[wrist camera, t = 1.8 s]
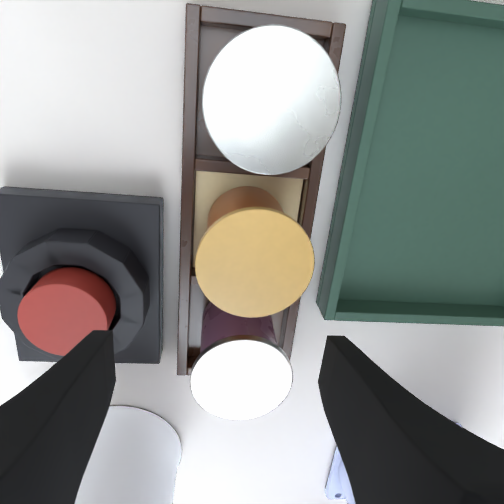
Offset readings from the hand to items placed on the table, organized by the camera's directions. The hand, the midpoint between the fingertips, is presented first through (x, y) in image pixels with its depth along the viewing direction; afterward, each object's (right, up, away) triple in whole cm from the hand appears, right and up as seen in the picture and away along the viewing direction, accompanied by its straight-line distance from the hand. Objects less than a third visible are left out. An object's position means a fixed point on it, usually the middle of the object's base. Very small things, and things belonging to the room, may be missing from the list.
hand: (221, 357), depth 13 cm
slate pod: (+1, +11, +6) cm, 12 cm away
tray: (+12, +7, +9) cm, 17 cm away
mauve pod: (0, -1, +11) cm, 11 cm away
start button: (-8, +1, +6) cm, 10 cm away
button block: (-8, +2, +9) cm, 12 cm away
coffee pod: (+1, +5, +8) cm, 9 cm away
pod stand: (+1, +5, +8) cm, 10 cm away
